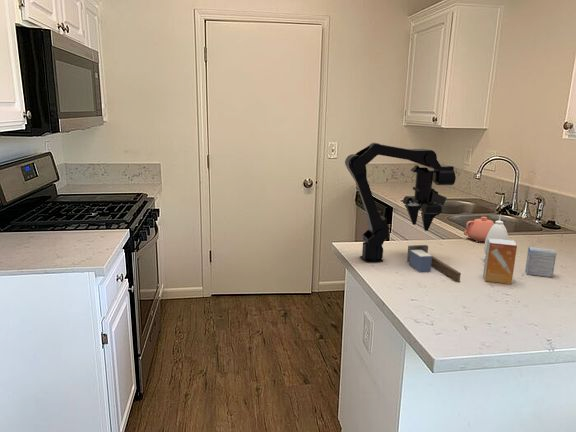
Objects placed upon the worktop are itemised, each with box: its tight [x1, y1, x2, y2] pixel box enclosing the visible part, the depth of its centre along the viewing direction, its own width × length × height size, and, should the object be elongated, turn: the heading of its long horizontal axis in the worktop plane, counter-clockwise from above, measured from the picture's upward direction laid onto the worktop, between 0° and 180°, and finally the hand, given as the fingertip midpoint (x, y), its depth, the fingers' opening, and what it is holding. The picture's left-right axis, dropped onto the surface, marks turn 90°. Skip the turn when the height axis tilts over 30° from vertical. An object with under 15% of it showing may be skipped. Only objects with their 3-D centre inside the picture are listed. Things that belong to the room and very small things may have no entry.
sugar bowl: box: [463, 216, 495, 243], centre depth 199 cm, size 12×14×10 cm
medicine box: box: [525, 246, 557, 278], centre depth 157 cm, size 8×4×9 cm, turn 71°
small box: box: [482, 238, 518, 285], centre depth 150 cm, size 8×6×13 cm
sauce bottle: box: [484, 213, 510, 255], centre depth 168 cm, size 8×8×18 cm
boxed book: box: [408, 250, 433, 273], centre depth 161 cm, size 4×8×6 cm, turn 12°
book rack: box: [406, 244, 462, 283], centre depth 158 cm, size 8×22×6 cm, turn 12°
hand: (420, 227), depth 168 cm, fingers open, 9 cm apart
